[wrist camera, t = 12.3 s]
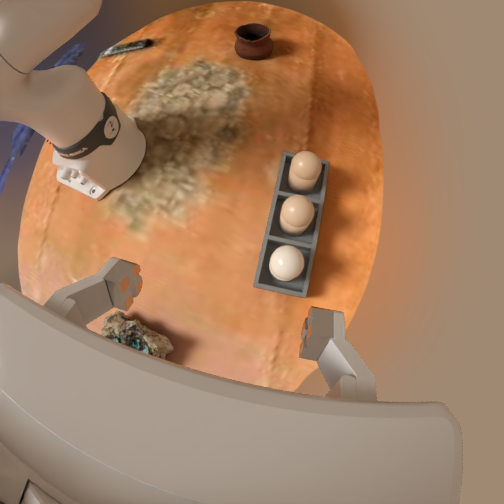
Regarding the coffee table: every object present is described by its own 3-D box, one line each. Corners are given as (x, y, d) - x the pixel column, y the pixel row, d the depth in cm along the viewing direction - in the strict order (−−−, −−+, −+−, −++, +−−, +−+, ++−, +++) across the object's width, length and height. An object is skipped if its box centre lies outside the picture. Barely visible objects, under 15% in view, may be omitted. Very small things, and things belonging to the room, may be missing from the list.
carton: (253, 287, 41) (250, 284, 32) (282, 160, 44) (285, 131, 36) (302, 297, 41) (313, 297, 32) (325, 170, 44) (338, 143, 35)
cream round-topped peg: (266, 278, 41) (266, 274, 32) (272, 249, 41) (274, 238, 33) (294, 284, 40) (302, 282, 32) (300, 256, 41) (309, 246, 33)
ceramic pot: (244, 86, 48) (241, 62, 41) (202, 51, 51) (197, 30, 44) (308, 58, 49) (312, 36, 43) (262, 27, 52) (261, 7, 45)
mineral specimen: (103, 356, 39) (92, 373, 32) (104, 306, 40) (92, 315, 32) (170, 366, 43) (171, 386, 35) (174, 317, 44) (176, 329, 36)
